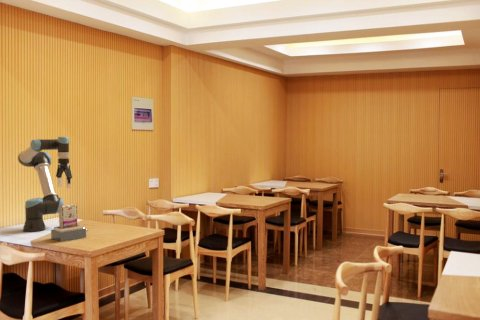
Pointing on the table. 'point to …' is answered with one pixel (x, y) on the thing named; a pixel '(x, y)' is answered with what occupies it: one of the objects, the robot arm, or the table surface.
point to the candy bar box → (67, 216)
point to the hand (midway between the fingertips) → (64, 187)
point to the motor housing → (68, 233)
